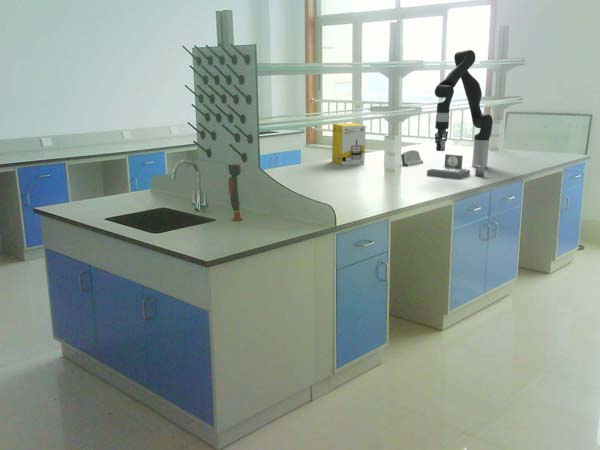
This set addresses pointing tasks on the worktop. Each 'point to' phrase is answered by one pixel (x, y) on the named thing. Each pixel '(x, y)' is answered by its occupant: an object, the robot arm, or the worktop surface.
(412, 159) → the grey rounded panel
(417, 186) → the worktop surface
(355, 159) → the packaging box
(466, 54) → the robot arm
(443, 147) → the cylinder
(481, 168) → the cylinder
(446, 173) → the scale
